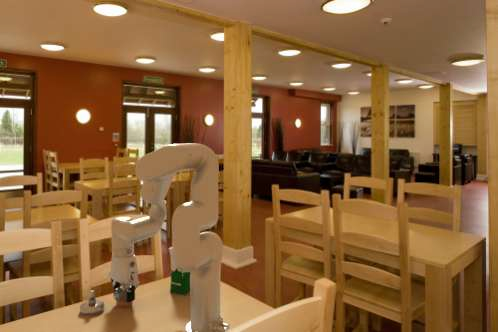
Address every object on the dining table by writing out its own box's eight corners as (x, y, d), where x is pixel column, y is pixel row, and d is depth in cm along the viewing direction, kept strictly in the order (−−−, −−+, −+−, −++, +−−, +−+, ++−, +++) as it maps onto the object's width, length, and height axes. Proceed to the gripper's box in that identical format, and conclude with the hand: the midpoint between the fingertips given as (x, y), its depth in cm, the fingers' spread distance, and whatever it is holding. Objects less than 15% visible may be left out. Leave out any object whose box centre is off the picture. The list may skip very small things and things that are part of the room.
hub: (109, 308, 133) (108, 289, 133) (89, 317, 126) (88, 297, 126) (95, 303, 138) (95, 284, 137) (75, 311, 131) (74, 292, 130)
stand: (135, 303, 137) (135, 285, 136) (123, 309, 132) (122, 290, 132) (125, 300, 140) (125, 282, 140) (113, 305, 135) (112, 287, 135)
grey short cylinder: (137, 295, 137) (136, 287, 137) (122, 302, 132) (122, 294, 131) (125, 291, 140) (125, 284, 140) (111, 297, 135) (110, 290, 135)
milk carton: (198, 288, 151) (197, 240, 149) (184, 297, 143) (183, 246, 141) (180, 284, 155) (180, 237, 153) (166, 292, 147) (165, 243, 145)
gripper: (147, 252, 133) (148, 301, 134) (116, 244, 142) (117, 289, 144) (130, 258, 127) (131, 309, 128) (99, 249, 136) (100, 296, 138)
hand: (124, 298), depth 136 cm, fingers open, 6 cm apart
